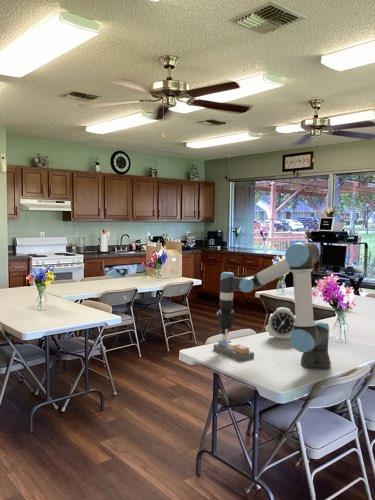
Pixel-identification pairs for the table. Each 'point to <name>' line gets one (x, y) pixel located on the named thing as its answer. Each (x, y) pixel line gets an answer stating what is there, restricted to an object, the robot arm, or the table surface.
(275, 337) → the alarm clock
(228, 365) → the table surface
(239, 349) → the terracotta key
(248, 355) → the key board
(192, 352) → the table surface
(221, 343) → the blue key
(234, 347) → the cream key
